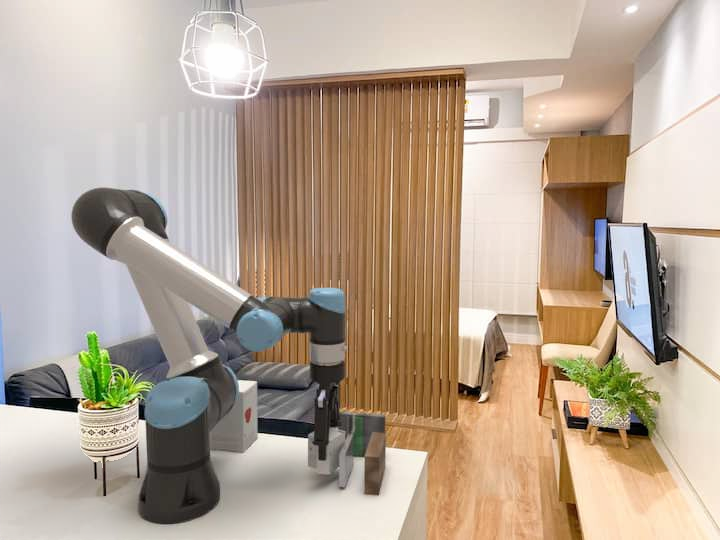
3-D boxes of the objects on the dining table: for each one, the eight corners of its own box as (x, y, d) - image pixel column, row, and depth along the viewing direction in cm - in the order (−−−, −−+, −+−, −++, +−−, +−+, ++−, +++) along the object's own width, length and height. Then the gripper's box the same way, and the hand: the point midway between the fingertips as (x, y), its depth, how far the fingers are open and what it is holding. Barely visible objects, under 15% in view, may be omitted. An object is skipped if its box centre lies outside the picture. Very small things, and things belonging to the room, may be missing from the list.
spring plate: (339, 486, 107) (339, 440, 106) (351, 454, 121) (351, 413, 120) (344, 487, 106) (345, 440, 105) (356, 454, 121) (356, 413, 120)
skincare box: (307, 467, 111) (307, 434, 110) (322, 456, 116) (322, 424, 115) (330, 474, 108) (330, 440, 107) (345, 462, 113) (346, 430, 112)
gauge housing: (313, 489, 106) (312, 442, 106) (331, 451, 124) (331, 411, 123) (378, 495, 104) (379, 447, 103) (387, 456, 122) (388, 415, 121)
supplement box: (243, 453, 123) (243, 392, 121) (209, 449, 124) (207, 389, 123) (258, 437, 132) (258, 380, 130) (226, 434, 133) (225, 378, 132)
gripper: (335, 375, 99) (335, 489, 101) (352, 349, 119) (352, 445, 121) (297, 373, 100) (297, 486, 102) (321, 348, 120) (321, 442, 122)
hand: (327, 463), depth 112 cm, fingers closed on skincare box, 7 cm apart
